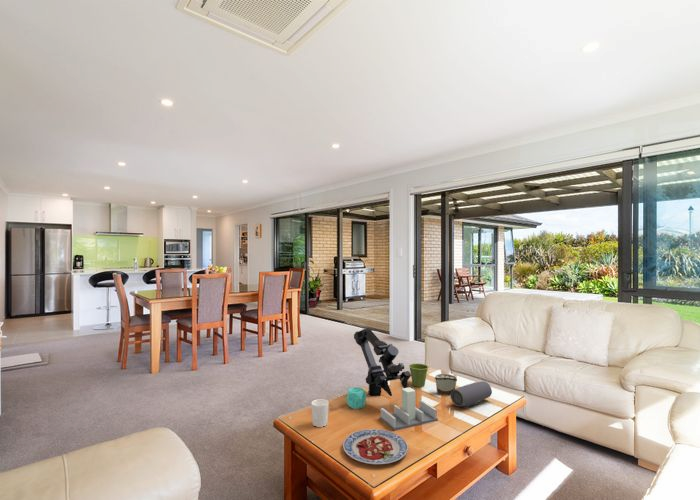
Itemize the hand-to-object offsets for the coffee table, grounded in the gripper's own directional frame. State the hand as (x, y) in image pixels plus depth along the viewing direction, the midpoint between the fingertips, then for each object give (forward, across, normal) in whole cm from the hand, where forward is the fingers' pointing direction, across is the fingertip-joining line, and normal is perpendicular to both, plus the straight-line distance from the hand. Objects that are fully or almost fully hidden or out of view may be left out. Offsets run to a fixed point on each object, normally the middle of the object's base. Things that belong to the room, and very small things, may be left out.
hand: (399, 394), depth 176 cm
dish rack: (+12, 0, +1) cm, 12 cm away
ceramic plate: (+24, -27, -11) cm, 38 cm away
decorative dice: (-5, -16, +18) cm, 24 cm away
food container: (-1, +37, +14) cm, 40 cm away
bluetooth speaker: (+11, +41, +2) cm, 42 cm away
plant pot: (-13, +31, +26) cm, 42 cm away
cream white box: (+11, 0, 0) cm, 11 cm away
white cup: (+4, -40, +10) cm, 41 cm away
